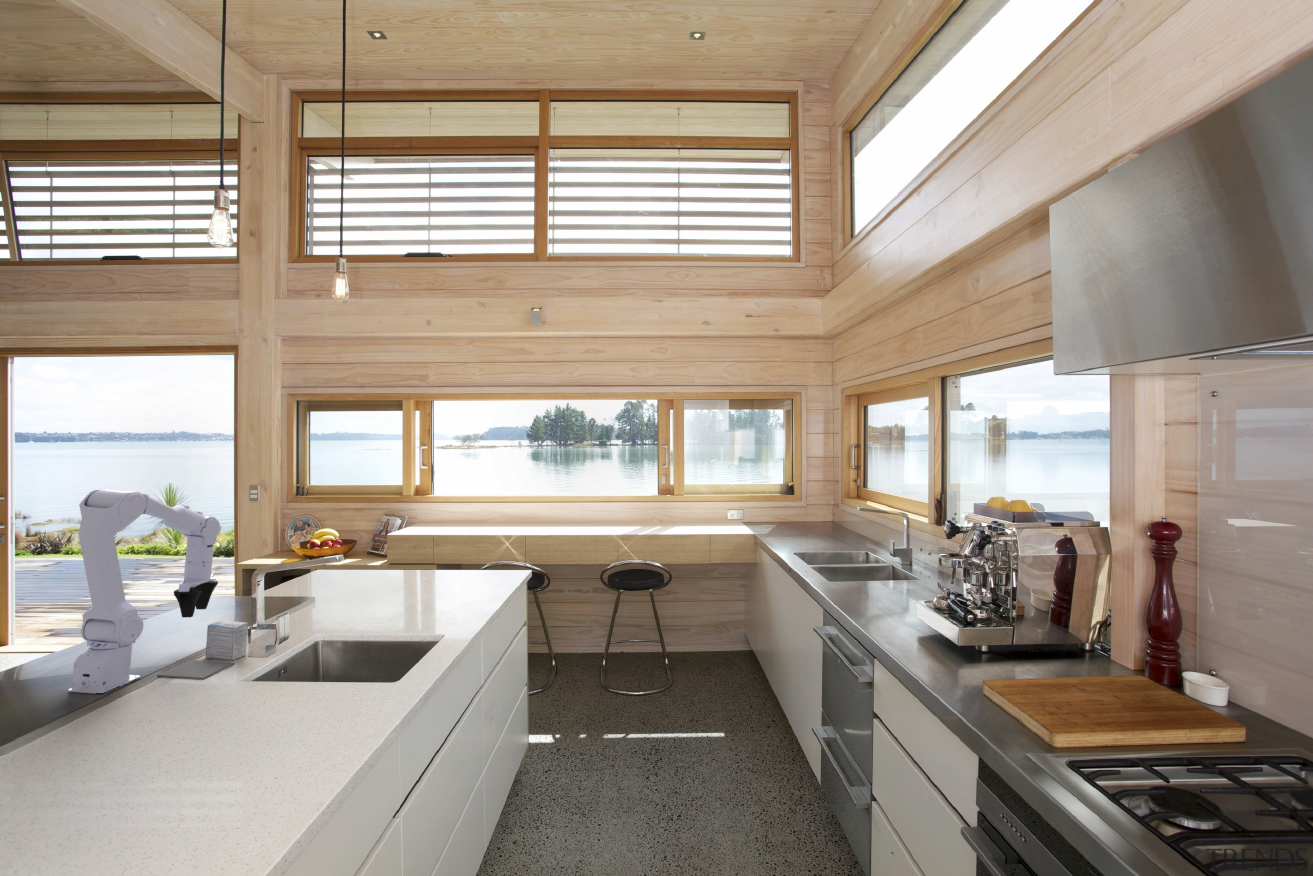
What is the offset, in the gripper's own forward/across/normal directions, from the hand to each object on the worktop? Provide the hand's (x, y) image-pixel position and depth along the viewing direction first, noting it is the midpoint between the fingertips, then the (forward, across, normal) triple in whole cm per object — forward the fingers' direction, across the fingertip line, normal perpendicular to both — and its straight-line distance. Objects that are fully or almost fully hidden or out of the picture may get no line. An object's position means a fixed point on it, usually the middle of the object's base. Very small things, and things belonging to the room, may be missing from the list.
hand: (194, 613), depth 156 cm
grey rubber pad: (+10, -14, -7) cm, 18 cm away
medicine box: (+10, -5, -10) cm, 15 cm away
